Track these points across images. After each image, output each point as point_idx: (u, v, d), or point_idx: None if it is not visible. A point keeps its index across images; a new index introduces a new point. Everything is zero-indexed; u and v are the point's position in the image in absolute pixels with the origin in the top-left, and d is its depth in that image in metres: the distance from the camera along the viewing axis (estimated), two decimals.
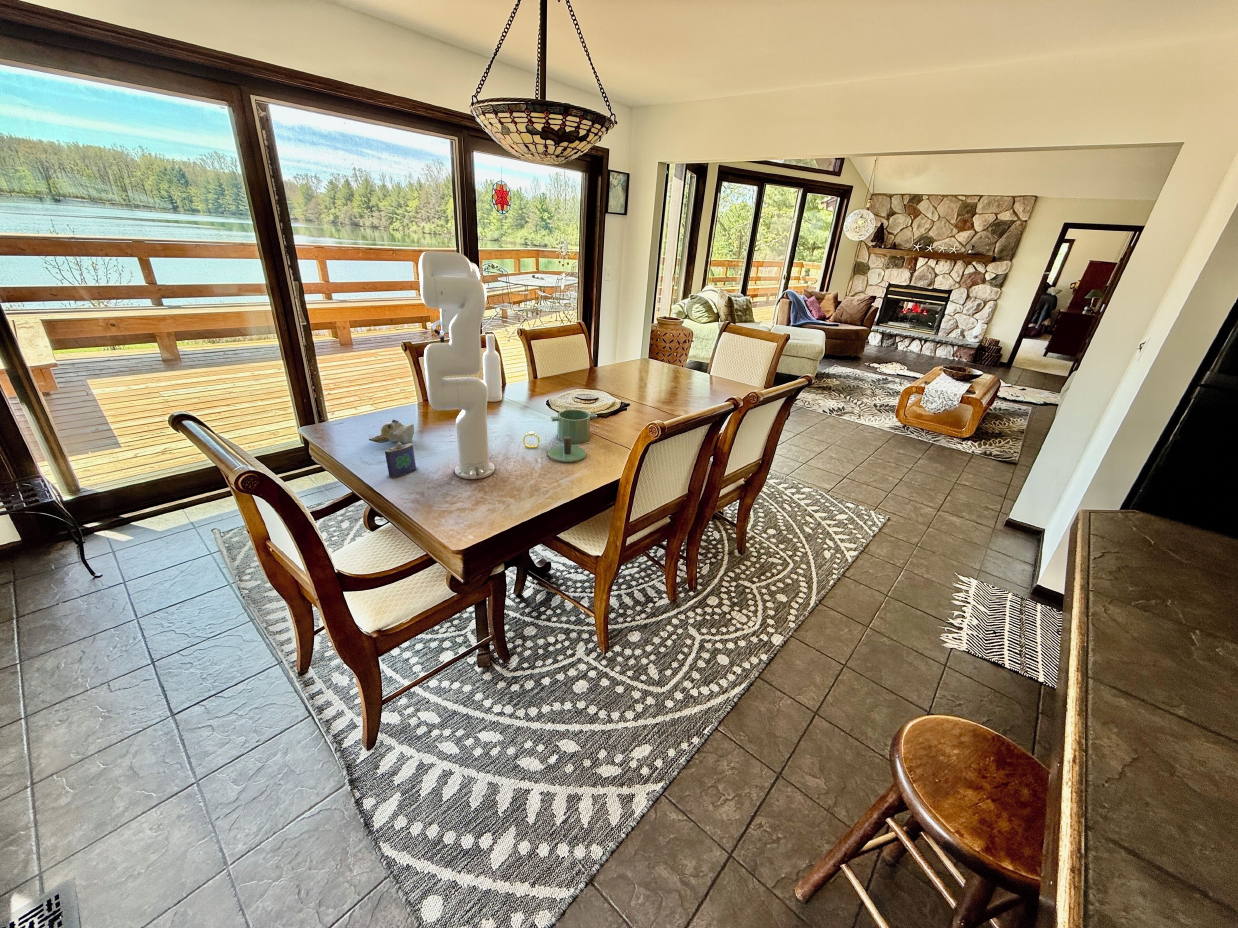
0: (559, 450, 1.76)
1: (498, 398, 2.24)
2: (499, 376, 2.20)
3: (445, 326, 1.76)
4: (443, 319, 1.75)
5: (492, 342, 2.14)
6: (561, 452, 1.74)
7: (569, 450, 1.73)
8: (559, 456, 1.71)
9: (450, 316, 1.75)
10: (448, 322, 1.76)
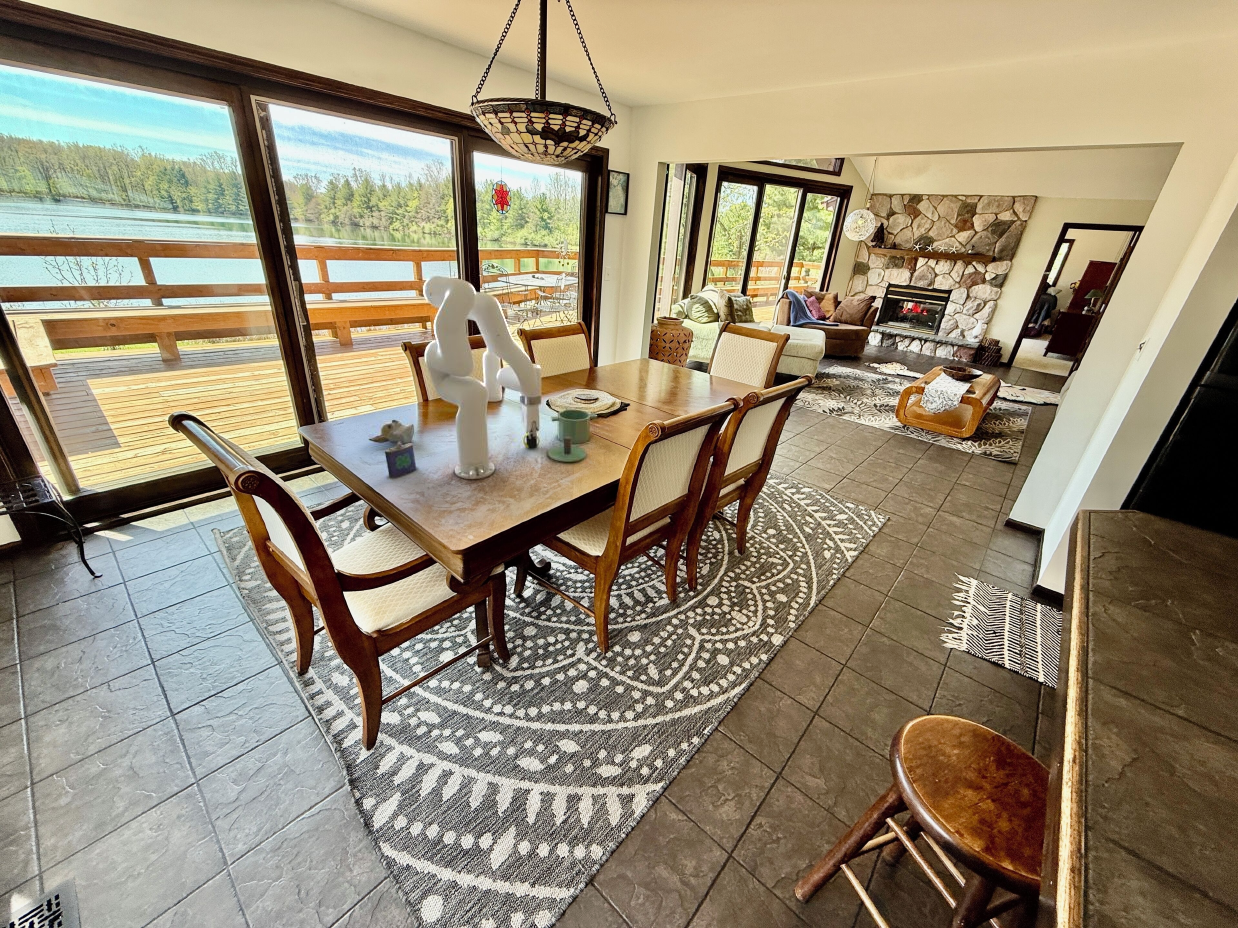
0: (559, 450, 1.76)
1: (498, 398, 2.24)
2: None
3: None
4: None
5: None
6: (561, 452, 1.74)
7: (569, 450, 1.73)
8: (559, 456, 1.71)
9: (522, 412, 1.74)
10: (522, 417, 1.76)
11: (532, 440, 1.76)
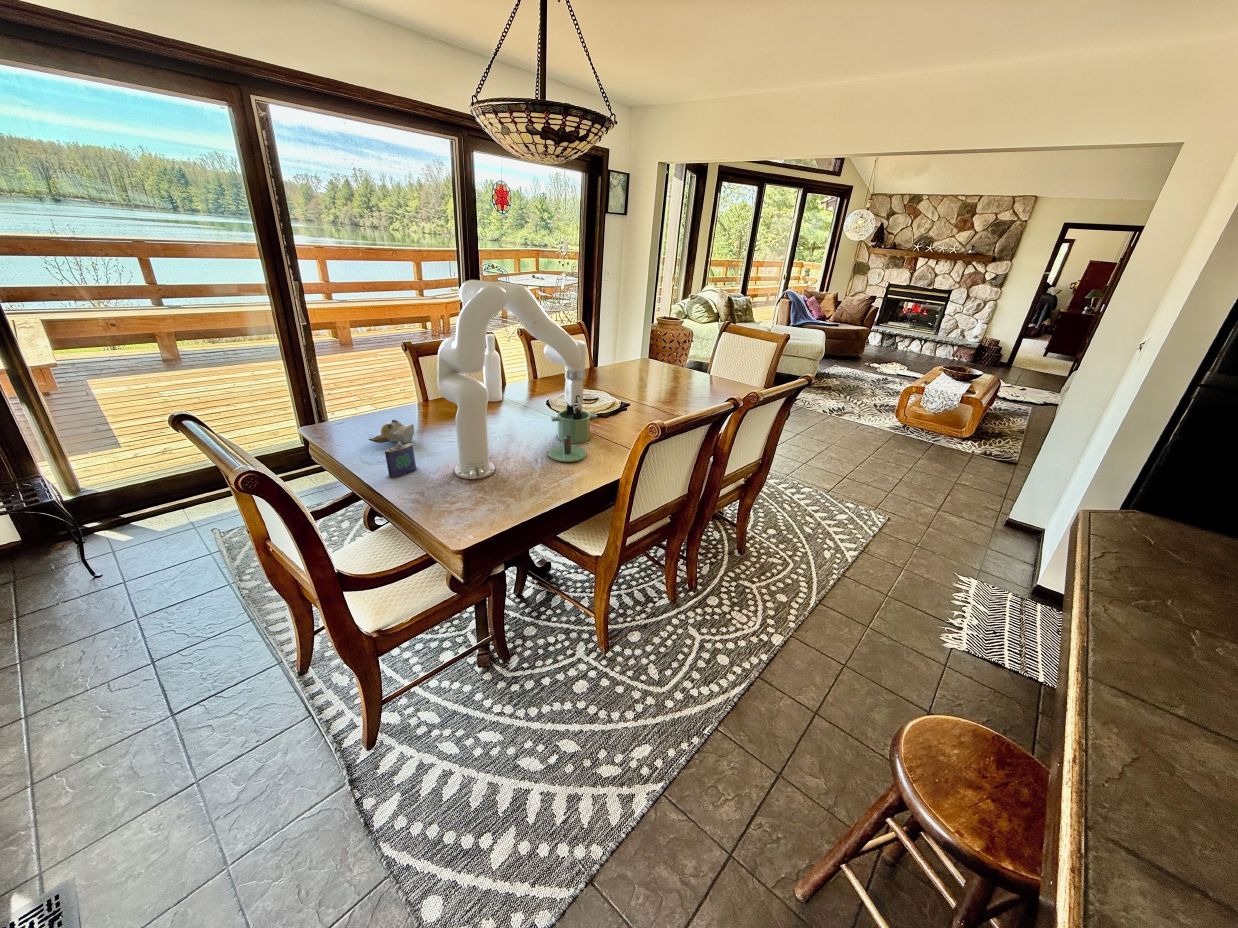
0: (559, 450, 1.76)
1: (498, 398, 2.24)
2: (499, 376, 2.20)
3: (565, 394, 1.86)
4: (565, 388, 1.85)
5: (492, 342, 2.14)
6: (561, 452, 1.74)
7: (569, 450, 1.73)
8: (559, 456, 1.71)
9: (566, 387, 1.82)
10: (565, 392, 1.84)
11: (577, 414, 1.81)
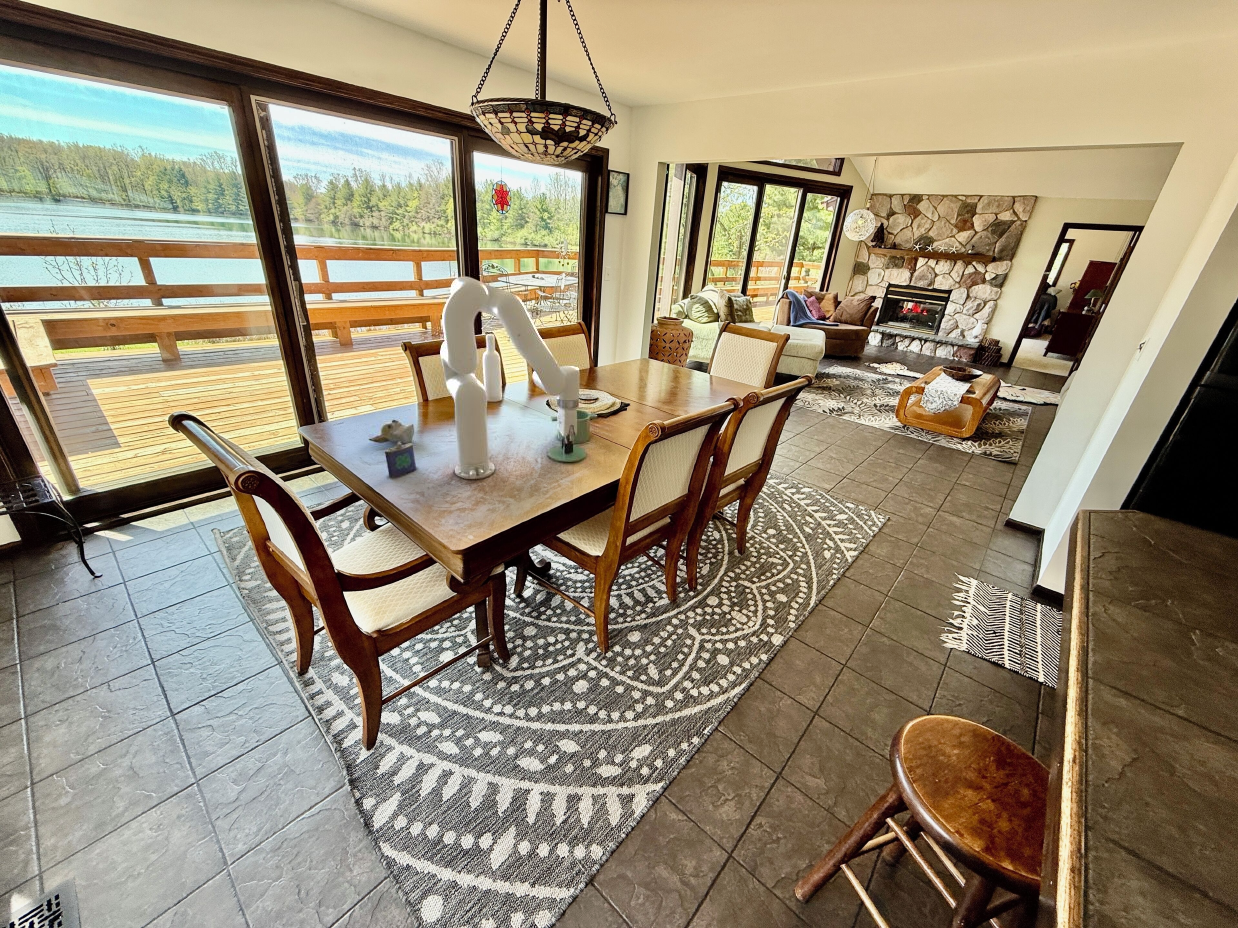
0: (559, 450, 1.76)
1: (498, 398, 2.24)
2: (499, 376, 2.20)
3: (557, 423, 1.72)
4: None
5: (492, 342, 2.14)
6: (561, 452, 1.74)
7: None
8: (559, 456, 1.71)
9: (559, 416, 1.69)
10: (558, 420, 1.70)
11: (569, 445, 1.70)
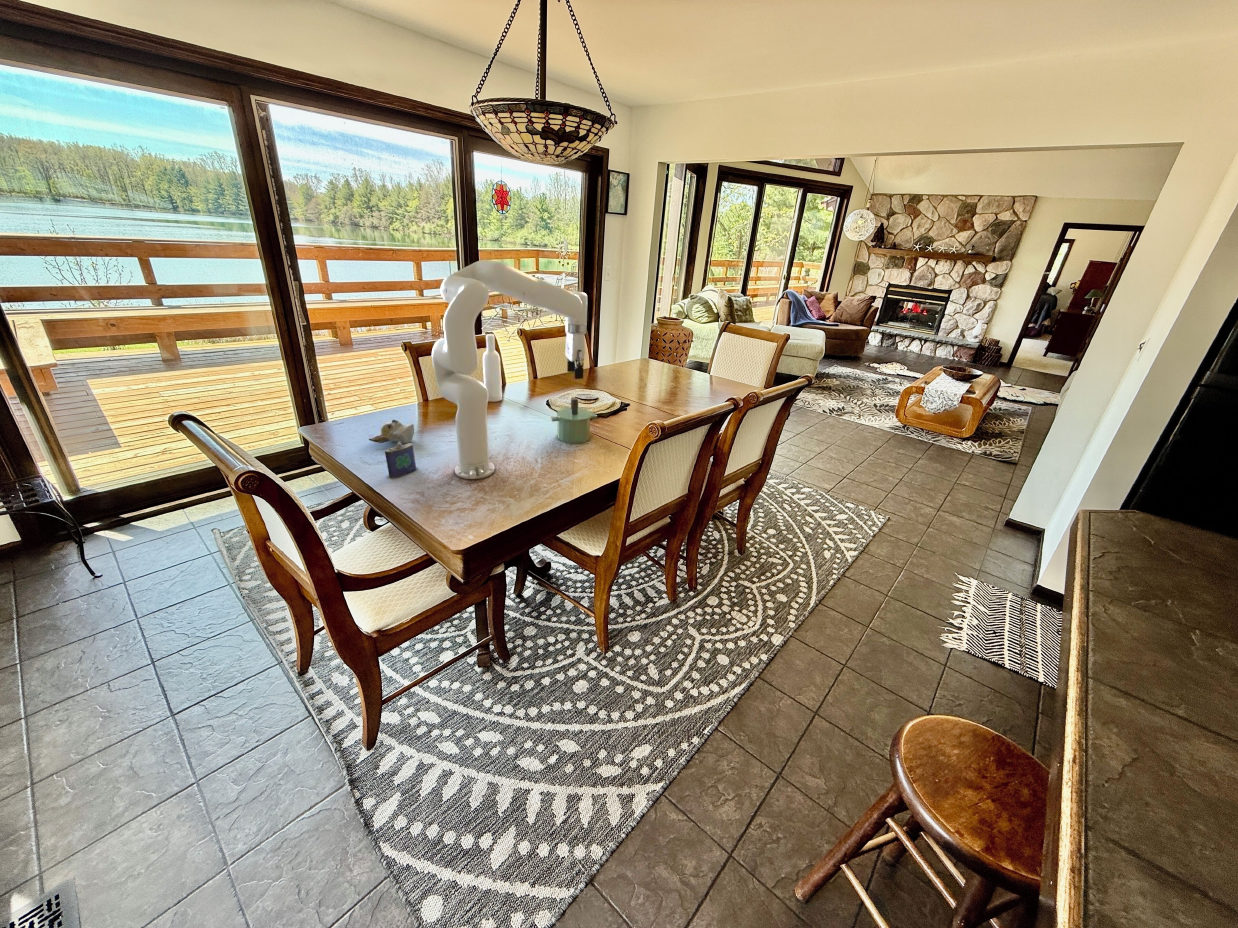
0: (566, 411, 1.88)
1: (498, 398, 2.24)
2: (499, 376, 2.20)
3: (565, 351, 1.78)
4: None
5: (492, 342, 2.14)
6: (568, 413, 1.86)
7: (576, 411, 1.85)
8: (567, 416, 1.83)
9: (567, 342, 1.75)
10: (566, 348, 1.77)
11: (579, 370, 1.73)
